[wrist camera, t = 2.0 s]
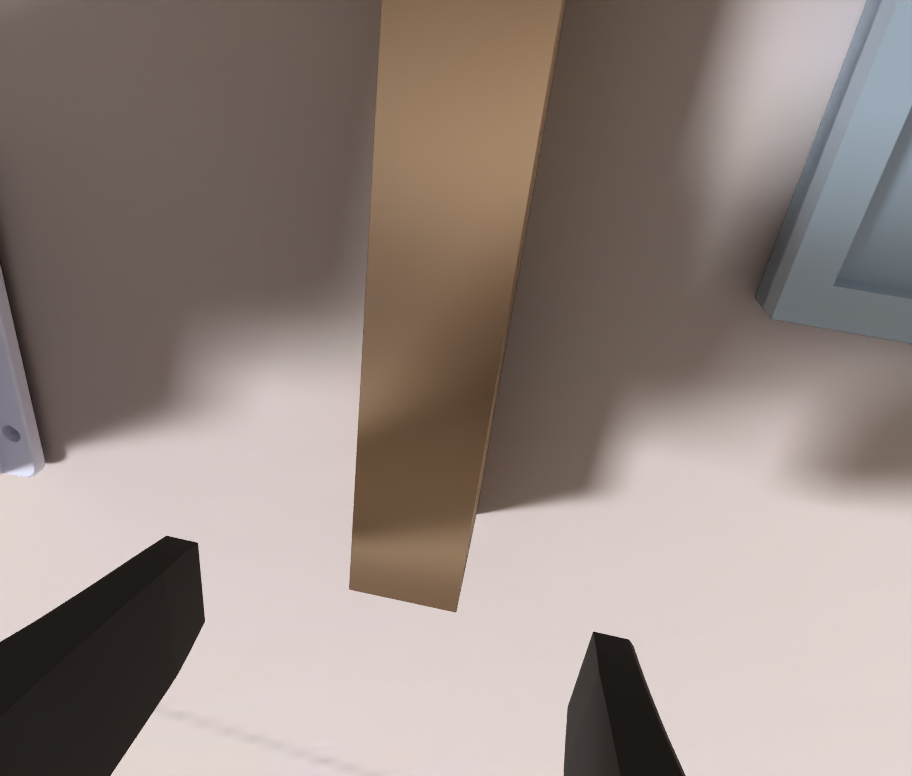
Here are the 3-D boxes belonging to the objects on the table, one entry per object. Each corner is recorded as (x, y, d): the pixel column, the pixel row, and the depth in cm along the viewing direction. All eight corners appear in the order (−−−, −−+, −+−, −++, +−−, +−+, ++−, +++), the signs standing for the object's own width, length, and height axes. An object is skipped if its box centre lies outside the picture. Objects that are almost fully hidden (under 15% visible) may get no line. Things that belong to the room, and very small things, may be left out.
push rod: (477, 508, 17) (456, 612, 14) (390, 490, 17) (349, 589, 14) (584, -95, 11) (589, -159, 7) (443, -112, 11) (392, -181, 8)
